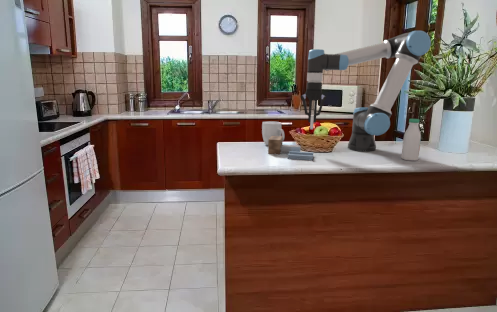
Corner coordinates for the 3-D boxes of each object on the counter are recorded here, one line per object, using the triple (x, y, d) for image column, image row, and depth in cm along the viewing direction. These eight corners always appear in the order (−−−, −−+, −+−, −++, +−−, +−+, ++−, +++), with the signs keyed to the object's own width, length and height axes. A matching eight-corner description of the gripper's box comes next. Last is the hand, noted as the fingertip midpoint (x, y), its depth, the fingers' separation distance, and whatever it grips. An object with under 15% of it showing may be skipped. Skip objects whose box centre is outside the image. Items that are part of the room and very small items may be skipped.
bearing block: (282, 149, 192) (282, 136, 191) (279, 154, 181) (280, 140, 180) (271, 149, 194) (271, 135, 192) (268, 153, 183) (268, 139, 181)
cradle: (313, 156, 178) (313, 152, 178) (312, 160, 170) (312, 156, 169) (289, 154, 181) (289, 151, 180) (287, 158, 172) (287, 154, 172)
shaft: (300, 153, 187) (300, 145, 186) (299, 154, 183) (300, 147, 182) (271, 151, 190) (272, 144, 189) (271, 153, 186) (271, 145, 185)
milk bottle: (417, 161, 170) (422, 120, 166) (399, 159, 174) (404, 119, 170) (419, 158, 176) (424, 118, 172) (402, 156, 180) (407, 117, 176)
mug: (289, 146, 203) (290, 123, 200) (276, 148, 196) (277, 125, 193) (270, 142, 214) (271, 120, 211) (257, 144, 206) (258, 122, 203)
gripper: (327, 82, 178) (324, 128, 183) (301, 81, 181) (299, 127, 186) (327, 82, 171) (324, 130, 176) (300, 81, 173) (298, 129, 179)
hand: (311, 128), depth 181 cm, fingers closed
